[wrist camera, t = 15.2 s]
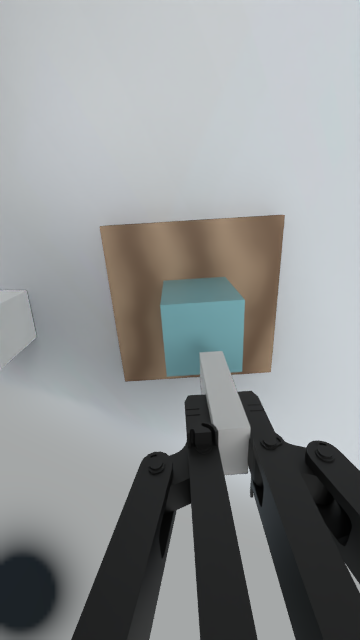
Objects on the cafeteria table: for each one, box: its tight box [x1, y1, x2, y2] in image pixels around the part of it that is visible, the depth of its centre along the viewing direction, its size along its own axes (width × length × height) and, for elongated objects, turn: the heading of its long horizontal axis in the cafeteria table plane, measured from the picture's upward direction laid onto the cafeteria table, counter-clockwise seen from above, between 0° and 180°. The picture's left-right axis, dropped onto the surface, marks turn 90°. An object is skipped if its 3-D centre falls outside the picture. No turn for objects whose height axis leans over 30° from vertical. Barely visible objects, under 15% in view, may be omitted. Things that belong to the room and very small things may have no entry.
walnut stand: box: [100, 215, 285, 381], centre depth 26 cm, size 18×18×8 cm
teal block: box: [160, 277, 245, 377], centre depth 25 cm, size 6×6×8 cm
